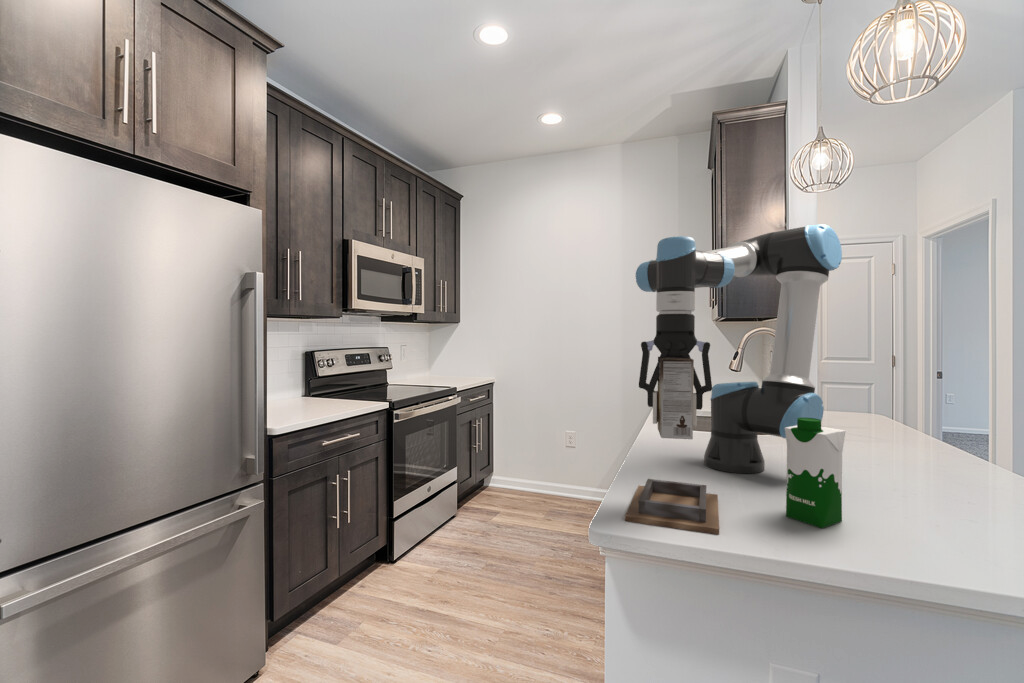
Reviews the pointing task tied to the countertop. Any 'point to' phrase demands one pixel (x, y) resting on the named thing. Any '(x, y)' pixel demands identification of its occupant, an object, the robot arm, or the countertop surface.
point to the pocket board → (675, 506)
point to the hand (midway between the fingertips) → (674, 423)
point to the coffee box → (675, 398)
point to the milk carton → (814, 473)
